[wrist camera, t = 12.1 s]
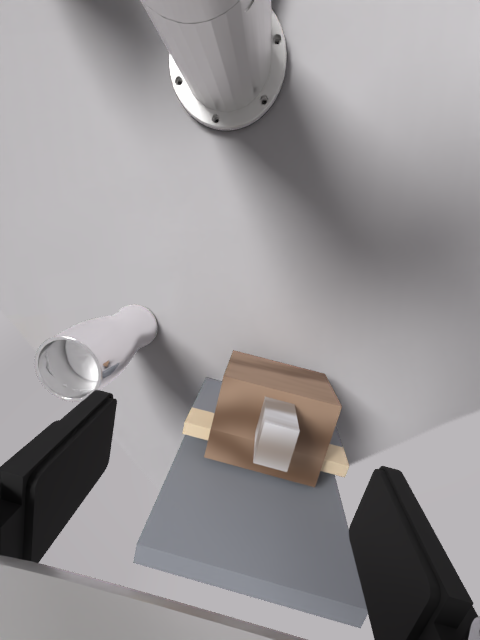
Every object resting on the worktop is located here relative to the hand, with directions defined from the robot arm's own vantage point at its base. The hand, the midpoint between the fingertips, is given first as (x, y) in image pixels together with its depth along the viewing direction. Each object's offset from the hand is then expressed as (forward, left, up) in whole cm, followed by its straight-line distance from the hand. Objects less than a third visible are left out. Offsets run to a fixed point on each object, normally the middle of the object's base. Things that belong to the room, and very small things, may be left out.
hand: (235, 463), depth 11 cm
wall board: (+16, +4, -30) cm, 34 cm away
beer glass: (+8, -16, -31) cm, 35 cm away
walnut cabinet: (+12, +4, -27) cm, 30 cm away
